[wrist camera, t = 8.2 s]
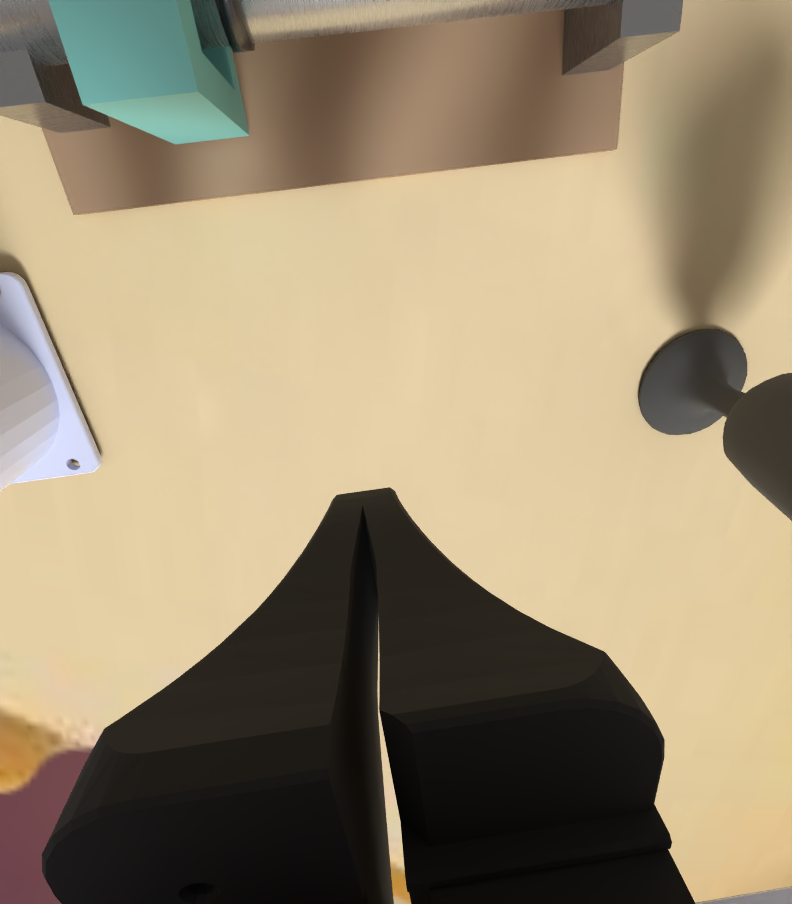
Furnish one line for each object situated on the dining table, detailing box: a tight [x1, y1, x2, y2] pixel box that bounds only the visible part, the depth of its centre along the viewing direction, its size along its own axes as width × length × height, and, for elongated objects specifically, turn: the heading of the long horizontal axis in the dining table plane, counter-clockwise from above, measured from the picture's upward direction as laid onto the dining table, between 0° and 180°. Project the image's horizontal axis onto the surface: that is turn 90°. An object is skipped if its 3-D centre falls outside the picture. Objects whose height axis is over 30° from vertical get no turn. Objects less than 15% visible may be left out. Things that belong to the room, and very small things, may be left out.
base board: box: [42, 9, 624, 215], centre depth 15 cm, size 19×9×1 cm, turn 96°
